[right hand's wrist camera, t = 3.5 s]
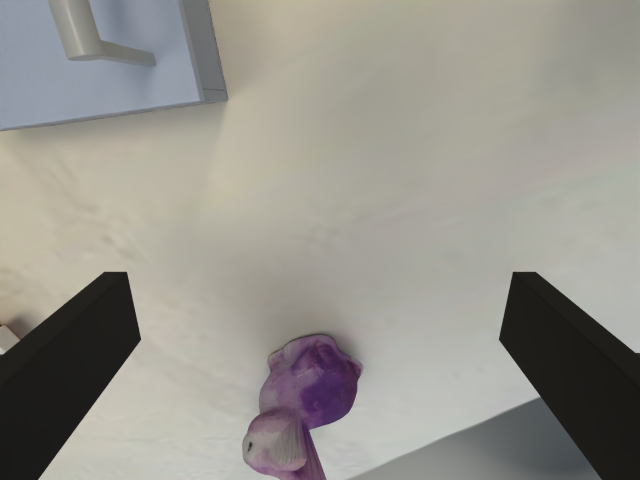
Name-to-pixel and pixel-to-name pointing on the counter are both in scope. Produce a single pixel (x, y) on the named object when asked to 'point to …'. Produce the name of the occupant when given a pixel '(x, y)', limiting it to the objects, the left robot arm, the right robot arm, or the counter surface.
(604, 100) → the counter surface
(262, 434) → the figurine
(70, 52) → the lid
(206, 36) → the chest
